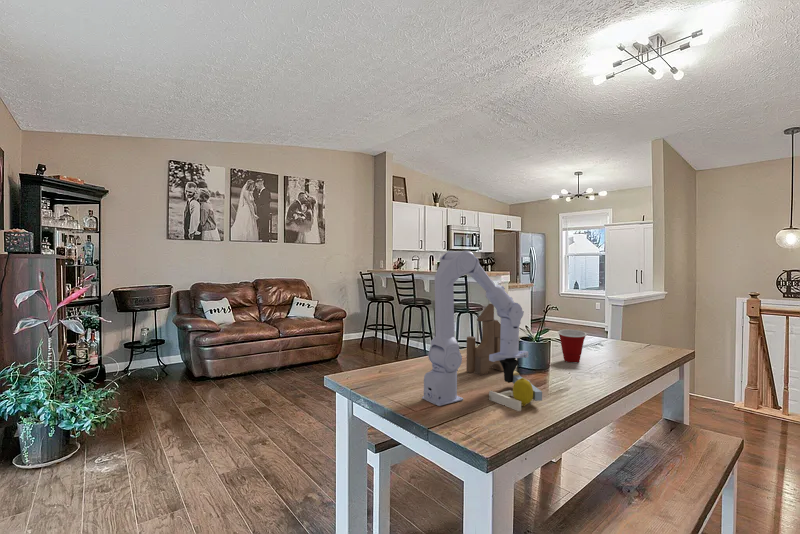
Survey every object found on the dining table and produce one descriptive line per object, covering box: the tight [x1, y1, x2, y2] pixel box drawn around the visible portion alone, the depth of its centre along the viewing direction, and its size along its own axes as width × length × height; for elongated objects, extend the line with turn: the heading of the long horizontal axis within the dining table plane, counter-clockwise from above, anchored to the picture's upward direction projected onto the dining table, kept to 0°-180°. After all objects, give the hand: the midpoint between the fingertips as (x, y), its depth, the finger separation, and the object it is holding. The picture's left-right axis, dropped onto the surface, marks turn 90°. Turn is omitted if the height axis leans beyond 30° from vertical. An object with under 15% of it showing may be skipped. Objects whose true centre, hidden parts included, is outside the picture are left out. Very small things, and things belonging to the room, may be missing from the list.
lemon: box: [512, 377, 533, 407], centre depth 115 cm, size 6×6×8 cm
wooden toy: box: [465, 303, 504, 376], centre depth 151 cm, size 16×7×25 cm, turn 119°
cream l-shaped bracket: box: [488, 389, 522, 412], centre depth 118 cm, size 9×11×2 cm
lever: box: [511, 370, 543, 402], centre depth 124 cm, size 4×20×3 cm, turn 6°
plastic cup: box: [557, 329, 588, 363], centre depth 166 cm, size 11×11×12 cm
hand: (508, 381), depth 131 cm, fingers closed, pressing on lever
